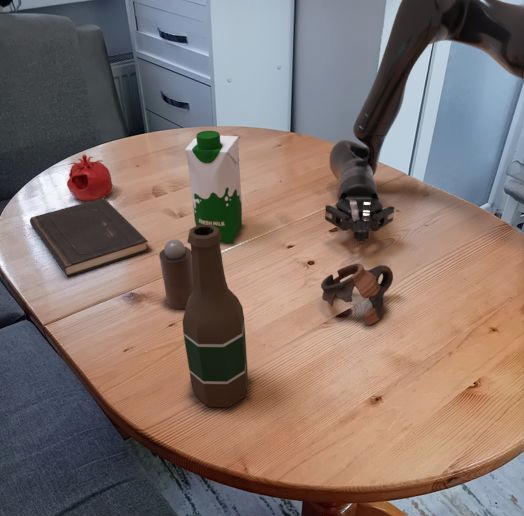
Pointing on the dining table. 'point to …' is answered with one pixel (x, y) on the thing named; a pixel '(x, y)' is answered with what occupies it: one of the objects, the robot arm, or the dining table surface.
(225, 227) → the milk carton
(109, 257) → the hardcover book
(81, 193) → the pomegranate
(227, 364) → the beer bottle
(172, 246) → the roll-on deodorant
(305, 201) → the dining table surface
